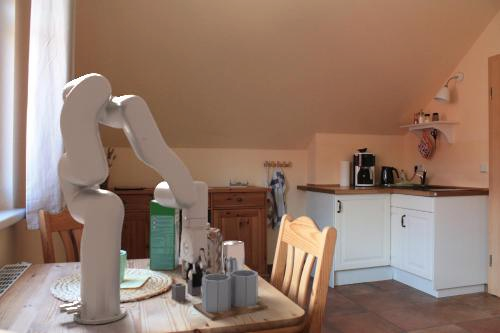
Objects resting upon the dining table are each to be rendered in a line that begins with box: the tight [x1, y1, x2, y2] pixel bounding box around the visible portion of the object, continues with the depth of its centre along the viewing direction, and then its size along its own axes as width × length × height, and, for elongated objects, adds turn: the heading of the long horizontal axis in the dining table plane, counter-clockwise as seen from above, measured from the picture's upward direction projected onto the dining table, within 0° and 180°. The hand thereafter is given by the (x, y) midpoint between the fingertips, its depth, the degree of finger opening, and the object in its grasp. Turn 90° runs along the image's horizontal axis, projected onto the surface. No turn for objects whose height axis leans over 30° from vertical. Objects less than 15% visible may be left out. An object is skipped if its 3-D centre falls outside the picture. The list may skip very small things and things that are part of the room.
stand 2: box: [186, 279, 202, 296], centre depth 125 cm, size 3×3×4 cm
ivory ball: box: [188, 269, 193, 281], centre depth 125 cm, size 4×4×4 cm
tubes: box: [201, 269, 259, 313], centre depth 113 cm, size 16×7×8 cm, turn 122°
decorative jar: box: [181, 222, 224, 280], centre depth 146 cm, size 12×12×18 cm
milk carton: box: [149, 199, 180, 271], centre depth 157 cm, size 9×9×25 cm
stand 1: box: [171, 282, 187, 302], centre depth 120 cm, size 3×3×4 cm
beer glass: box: [221, 240, 245, 276], centre depth 127 cm, size 7×7×15 cm
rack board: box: [192, 300, 268, 321], centre depth 113 cm, size 17×11×1 cm, turn 122°
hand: (194, 284), depth 125 cm, fingers closed on ivory ball, 3 cm apart
